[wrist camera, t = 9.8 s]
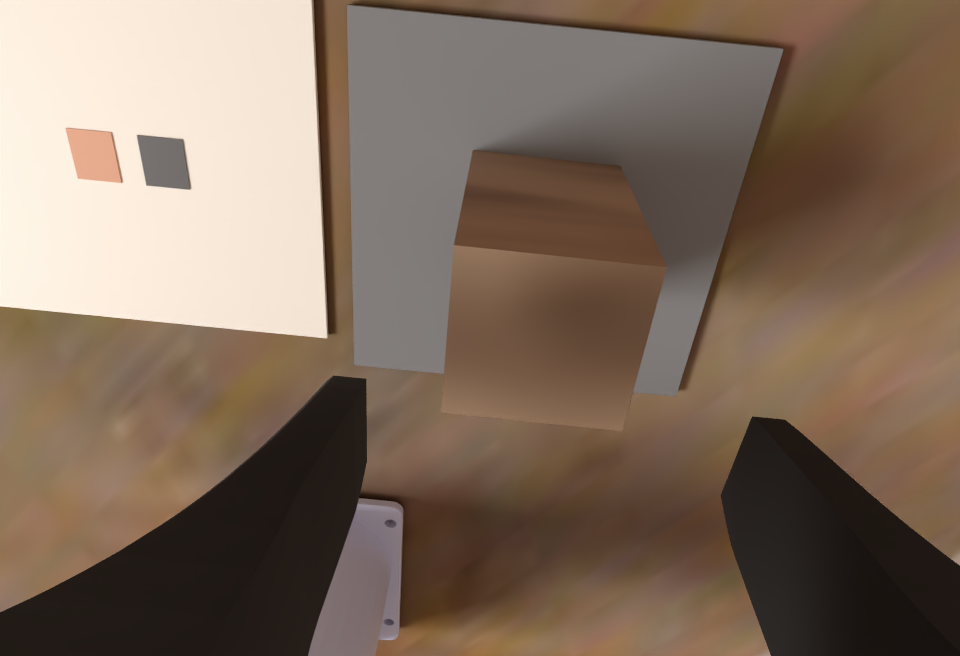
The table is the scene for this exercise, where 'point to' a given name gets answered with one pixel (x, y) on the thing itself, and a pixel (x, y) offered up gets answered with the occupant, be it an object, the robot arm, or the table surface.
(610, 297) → the walnut block
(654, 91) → the grey mat
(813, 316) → the table surface
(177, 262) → the cream mat
